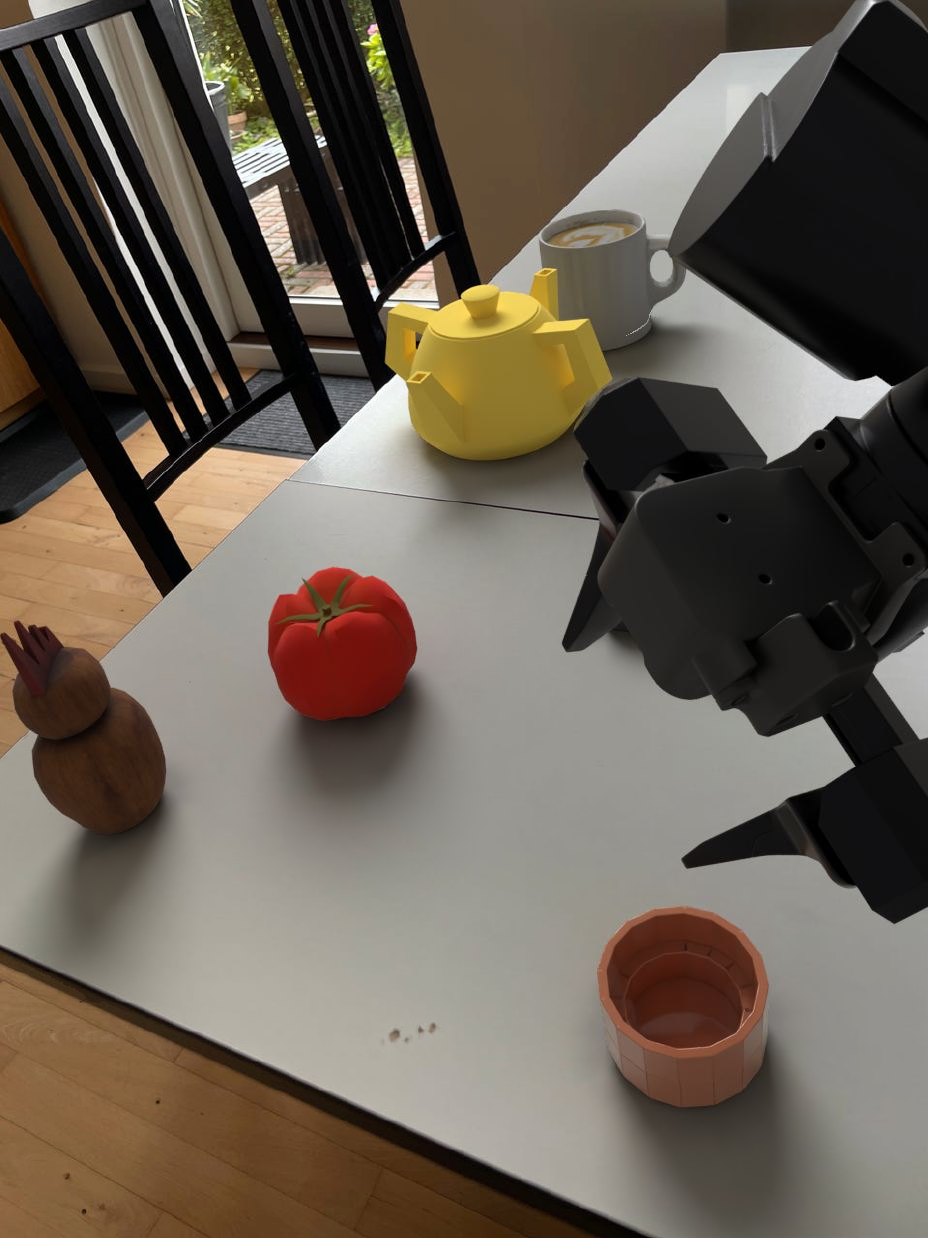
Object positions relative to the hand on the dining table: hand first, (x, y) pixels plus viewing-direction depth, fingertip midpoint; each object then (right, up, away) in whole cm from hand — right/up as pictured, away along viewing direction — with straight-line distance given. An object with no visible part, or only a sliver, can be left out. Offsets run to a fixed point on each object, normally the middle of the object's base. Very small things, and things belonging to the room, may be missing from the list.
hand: (627, 749), depth 37 cm
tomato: (-13, 0, +26) cm, 30 cm away
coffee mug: (+9, +33, +61) cm, 70 cm away
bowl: (+3, -13, +5) cm, 14 cm away
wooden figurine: (-26, -6, +22) cm, 35 cm away
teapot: (-3, +22, +51) cm, 55 cm away
